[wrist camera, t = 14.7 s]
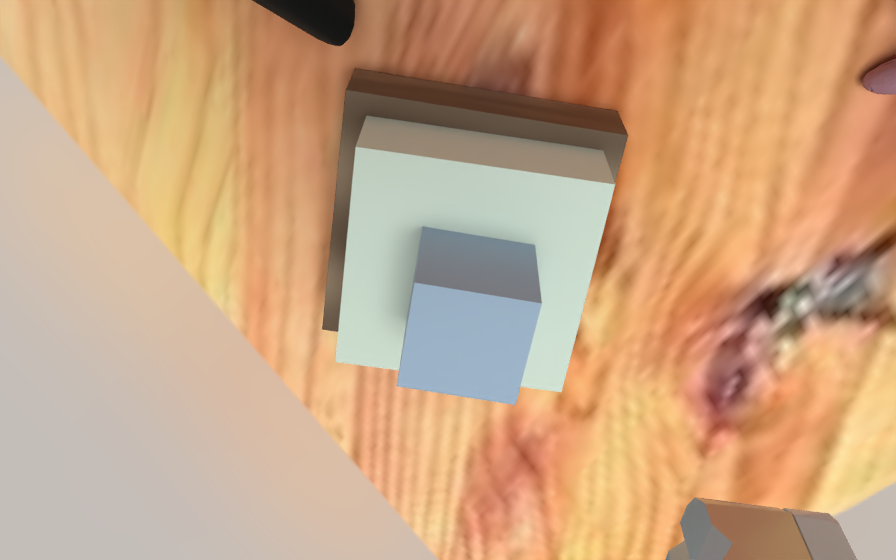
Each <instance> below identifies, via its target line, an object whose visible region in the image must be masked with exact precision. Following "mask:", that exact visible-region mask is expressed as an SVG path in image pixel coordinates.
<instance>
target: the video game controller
mask: <svg viewBox="0 0 896 560" xmlns="http://www.w3.org/2000/svg"><path fill="white" fill-rule="evenodd" d="M862 85H863V86H864V88H865V89H867V90H869V91H871V92H873V93H876V94H896V58H895V59H893V60H890V61H888V62H886V63H883V64H881V65H879V66H878V67H876V68H875V69H873V70H871V71H869V72H868V73H867V74H866V75H865V77H864V78H863V81H862Z"/></svg>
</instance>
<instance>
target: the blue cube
mask: <svg viewBox="0 0 896 560" xmlns="http://www.w3.org/2000/svg"><path fill="white" fill-rule="evenodd" d="M541 305H542V300H541V291H540V283H539V274H538V266H537V257H536V249H535V245H532V244H526V243H520V242H514V241H508V240H502V239H496V238H490V237H484V236H478V235H472V234H466V233H460V232H454V231H448V230H442V229H436V228H430V227H424V226H423V227H422V232H421V238H420V244H419V250H418V256H417V262H416V268H415V273H414V279H413V285H412V291H411V297H410V303H409V309H408V314H407V320H406V327H405V334H404V340H403V347H402V354H401V361H400V368H399V374H398V381H397V386H399V387H405V388H412V389H418V390H424V391H431V392H437V393H443V394H450V395H456V396H462V397H469V398H475V399H481V400H488V401H494V402H500V403H507V404H513V405H516V401H517V397H518V393H519V390H520V386H521V382H522V378H523V374H524V370H525V367H526V363H527V359H528V355H529V351H530V347H531V344H532V340H533V336H534V332H535V328H536V324H537V320H538V317H539V313H540V309H541Z"/></svg>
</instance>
